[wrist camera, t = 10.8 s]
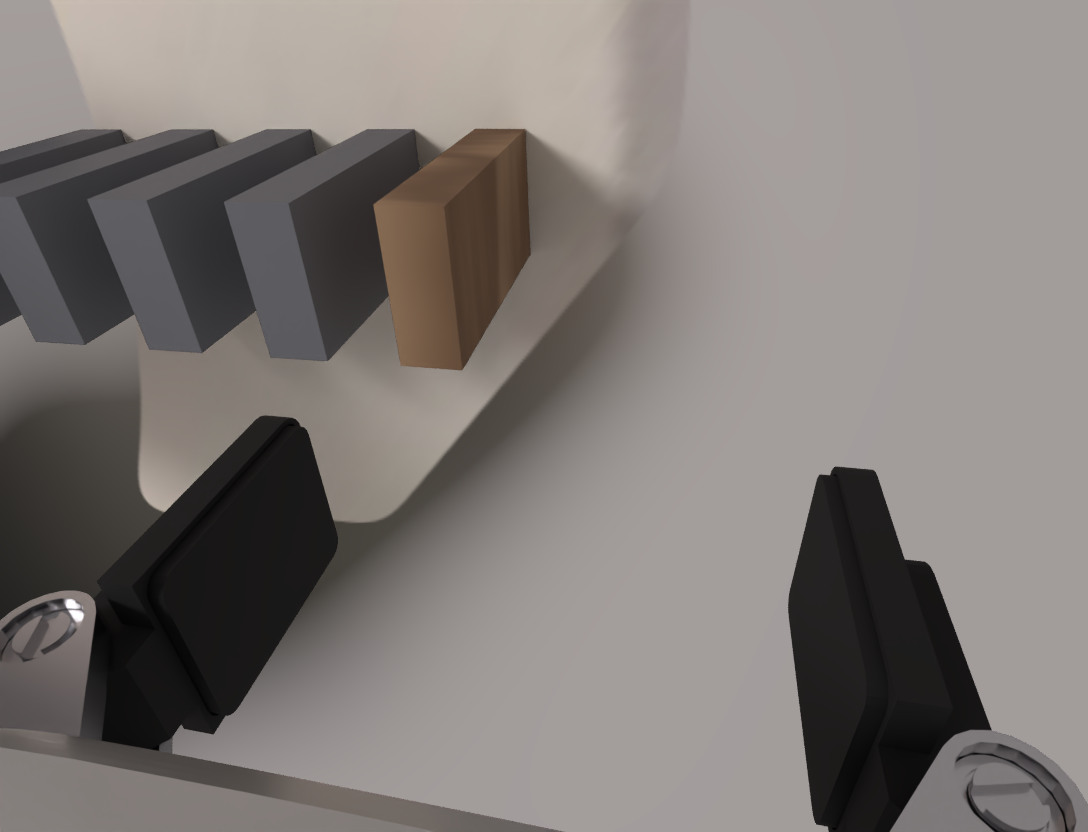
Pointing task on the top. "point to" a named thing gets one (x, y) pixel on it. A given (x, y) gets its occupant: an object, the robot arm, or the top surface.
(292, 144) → the domino
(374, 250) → the domino
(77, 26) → the top surface
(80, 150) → the domino
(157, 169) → the domino
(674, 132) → the top surface
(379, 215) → the domino
